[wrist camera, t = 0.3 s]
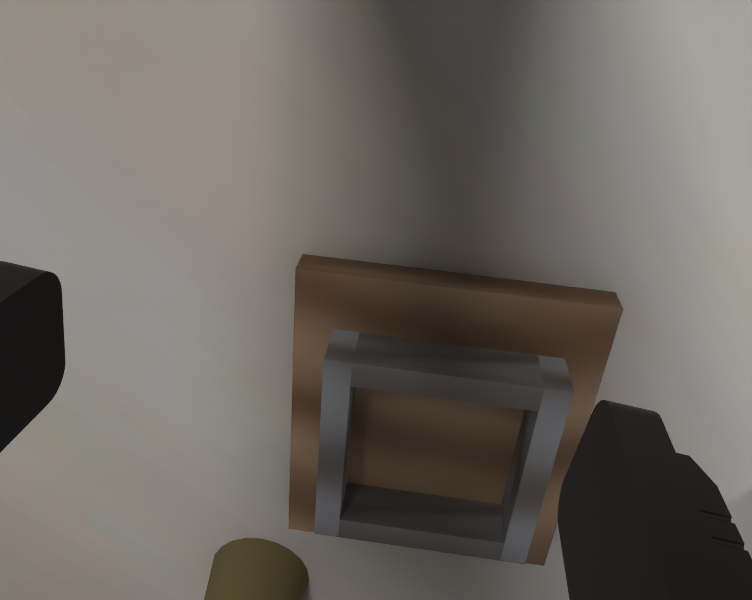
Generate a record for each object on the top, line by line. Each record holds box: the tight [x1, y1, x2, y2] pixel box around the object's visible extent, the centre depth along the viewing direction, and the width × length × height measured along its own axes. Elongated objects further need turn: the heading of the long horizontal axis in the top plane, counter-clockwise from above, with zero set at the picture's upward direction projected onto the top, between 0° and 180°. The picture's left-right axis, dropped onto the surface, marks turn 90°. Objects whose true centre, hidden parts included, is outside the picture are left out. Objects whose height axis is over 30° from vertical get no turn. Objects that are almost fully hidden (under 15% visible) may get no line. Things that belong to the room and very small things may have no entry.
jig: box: [289, 254, 623, 565], centre depth 31 cm, size 16×14×4 cm
